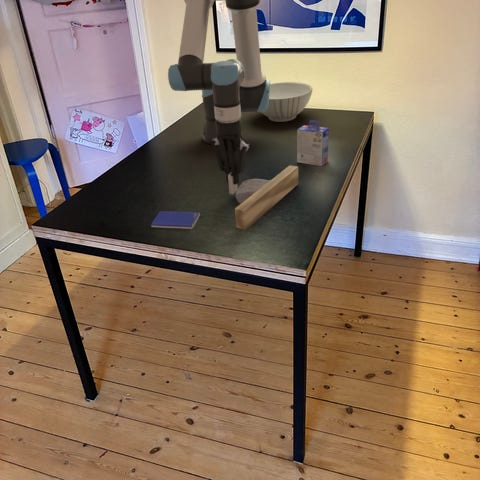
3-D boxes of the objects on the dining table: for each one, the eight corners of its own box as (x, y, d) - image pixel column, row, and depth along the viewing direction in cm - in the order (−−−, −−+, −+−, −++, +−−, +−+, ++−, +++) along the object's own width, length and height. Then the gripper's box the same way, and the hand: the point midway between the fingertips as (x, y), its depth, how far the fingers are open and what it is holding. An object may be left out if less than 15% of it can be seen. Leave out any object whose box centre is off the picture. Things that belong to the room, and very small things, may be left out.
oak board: (236, 227, 134) (234, 208, 131) (290, 182, 156) (289, 165, 153) (245, 229, 132) (243, 210, 129) (298, 183, 154) (298, 166, 151)
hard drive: (199, 211, 141) (160, 210, 144) (191, 225, 135) (150, 224, 137) (200, 216, 142) (161, 214, 145) (192, 230, 135) (151, 228, 138)
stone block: (235, 209, 147) (266, 204, 143) (231, 195, 145) (262, 190, 141) (244, 193, 157) (273, 188, 153) (240, 179, 154) (270, 174, 151)
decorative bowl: (291, 131, 197) (290, 101, 190) (240, 122, 212) (237, 95, 205) (324, 112, 214) (324, 84, 207) (274, 105, 229) (273, 79, 222)
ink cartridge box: (329, 161, 168) (330, 121, 160) (322, 167, 164) (323, 126, 157) (303, 157, 173) (303, 117, 165) (296, 162, 169) (296, 122, 161)
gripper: (202, 120, 138) (210, 193, 150) (239, 126, 131) (244, 201, 144) (217, 112, 143) (223, 183, 155) (254, 117, 136) (257, 191, 149)
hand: (233, 192), depth 150 cm, fingers closed
